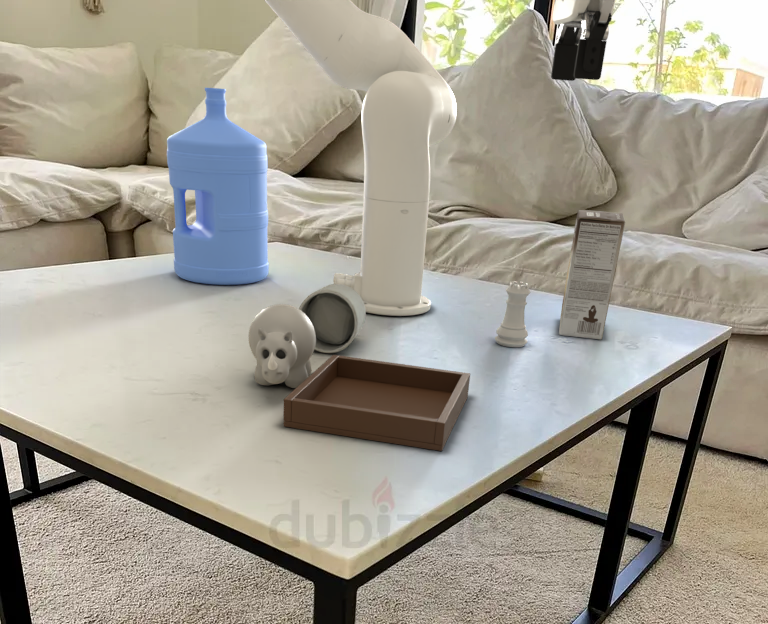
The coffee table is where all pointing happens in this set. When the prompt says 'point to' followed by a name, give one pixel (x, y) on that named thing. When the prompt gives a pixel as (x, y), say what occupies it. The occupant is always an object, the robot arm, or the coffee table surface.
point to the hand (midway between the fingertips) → (574, 79)
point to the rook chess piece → (514, 317)
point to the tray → (379, 402)
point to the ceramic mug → (334, 316)
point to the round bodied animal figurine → (282, 345)
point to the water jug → (219, 199)
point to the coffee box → (591, 273)
